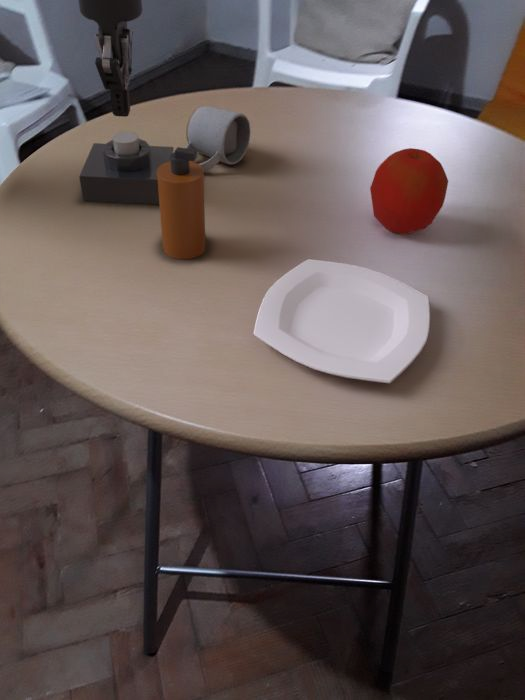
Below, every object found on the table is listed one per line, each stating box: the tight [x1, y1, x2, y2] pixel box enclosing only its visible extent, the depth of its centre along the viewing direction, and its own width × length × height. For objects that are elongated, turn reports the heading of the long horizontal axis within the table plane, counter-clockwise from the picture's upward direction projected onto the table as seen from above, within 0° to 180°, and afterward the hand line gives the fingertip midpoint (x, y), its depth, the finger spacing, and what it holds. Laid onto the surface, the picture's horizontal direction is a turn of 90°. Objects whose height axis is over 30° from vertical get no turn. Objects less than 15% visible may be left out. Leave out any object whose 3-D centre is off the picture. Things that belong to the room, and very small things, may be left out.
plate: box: [253, 258, 431, 384], centre depth 73 cm, size 19×19×2 cm
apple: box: [369, 147, 449, 235], centre depth 85 cm, size 10×10×12 cm
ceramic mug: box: [185, 105, 252, 172], centre depth 98 cm, size 11×8×8 cm
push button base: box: [78, 138, 175, 206], centre depth 92 cm, size 12×10×6 cm
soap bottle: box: [157, 146, 206, 260], centre depth 78 cm, size 6×6×14 cm
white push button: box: [112, 130, 140, 155], centre depth 89 cm, size 4×4×2 cm
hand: (121, 114), depth 86 cm, fingers closed
